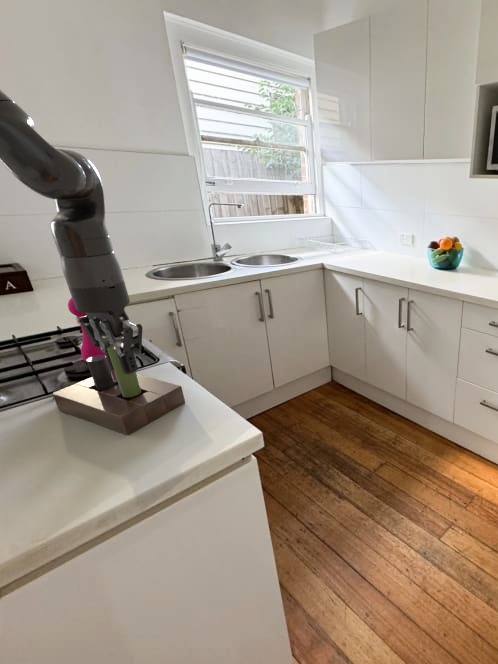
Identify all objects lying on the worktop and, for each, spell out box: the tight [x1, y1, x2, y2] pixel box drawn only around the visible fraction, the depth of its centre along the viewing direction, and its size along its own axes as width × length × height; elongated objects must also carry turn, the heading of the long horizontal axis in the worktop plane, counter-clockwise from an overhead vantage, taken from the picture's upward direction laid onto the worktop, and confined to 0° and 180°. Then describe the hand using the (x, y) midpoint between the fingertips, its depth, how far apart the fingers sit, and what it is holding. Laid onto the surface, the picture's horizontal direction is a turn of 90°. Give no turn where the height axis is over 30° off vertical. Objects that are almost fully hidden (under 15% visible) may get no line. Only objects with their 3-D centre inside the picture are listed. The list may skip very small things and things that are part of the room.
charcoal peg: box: [85, 355, 115, 392], centre depth 75 cm, size 3×3×10 cm
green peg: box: [107, 343, 141, 397], centre depth 71 cm, size 3×3×10 cm
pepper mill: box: [67, 297, 110, 367], centre depth 86 cm, size 7×7×20 cm
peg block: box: [51, 369, 186, 436], centre depth 75 cm, size 12×20×4 cm, turn 69°
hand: (124, 369), depth 71 cm, fingers closed on green peg, 3 cm apart
